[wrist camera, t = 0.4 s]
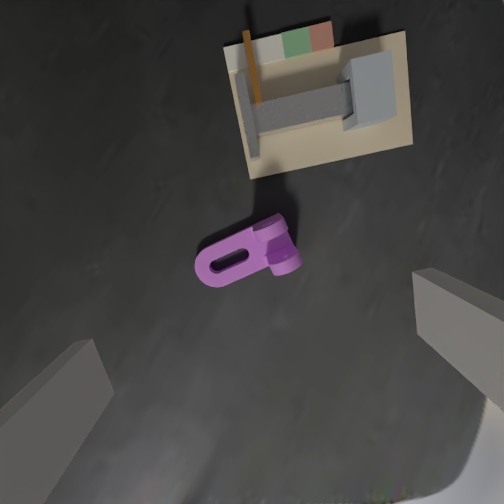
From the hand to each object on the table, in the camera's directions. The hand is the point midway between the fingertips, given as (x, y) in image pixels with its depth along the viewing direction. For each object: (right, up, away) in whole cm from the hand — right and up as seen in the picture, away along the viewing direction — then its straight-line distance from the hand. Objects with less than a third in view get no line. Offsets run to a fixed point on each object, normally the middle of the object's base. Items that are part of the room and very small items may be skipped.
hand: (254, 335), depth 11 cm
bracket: (-1, +3, +26) cm, 26 cm away
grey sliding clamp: (+5, +21, +20) cm, 30 cm away
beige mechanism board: (+8, +21, +21) cm, 31 cm away
